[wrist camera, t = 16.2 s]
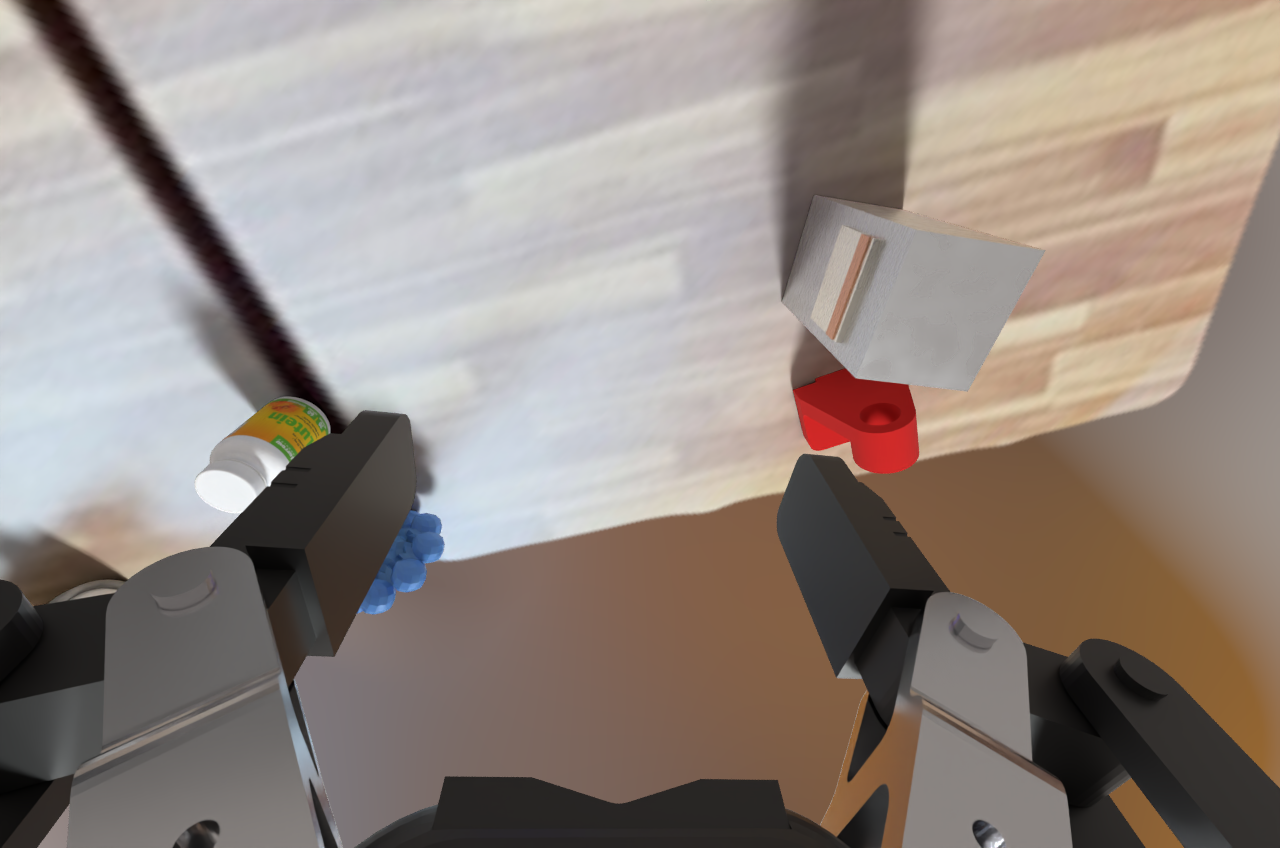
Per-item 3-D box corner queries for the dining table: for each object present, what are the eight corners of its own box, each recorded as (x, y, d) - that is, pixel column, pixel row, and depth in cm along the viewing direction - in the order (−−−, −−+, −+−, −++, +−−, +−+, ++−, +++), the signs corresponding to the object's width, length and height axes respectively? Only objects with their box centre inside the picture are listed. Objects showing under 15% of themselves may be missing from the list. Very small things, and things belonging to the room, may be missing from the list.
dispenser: (775, 301, 40) (847, 377, 28) (807, 193, 36) (907, 228, 24) (866, 313, 41) (974, 392, 29) (907, 210, 37) (1052, 251, 25)
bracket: (803, 440, 47) (846, 510, 39) (790, 386, 44) (834, 449, 35) (895, 410, 46) (960, 476, 37) (888, 353, 43) (958, 410, 34)
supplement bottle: (344, 421, 43) (281, 491, 35) (313, 457, 45) (247, 532, 37) (283, 382, 41) (201, 448, 33) (254, 422, 43) (169, 493, 35)
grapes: (436, 462, 46) (387, 558, 36) (474, 512, 49) (439, 613, 39) (332, 501, 48) (256, 603, 38) (376, 547, 51) (317, 652, 41)
